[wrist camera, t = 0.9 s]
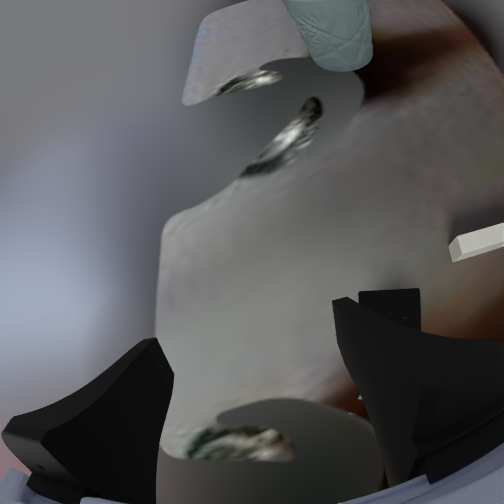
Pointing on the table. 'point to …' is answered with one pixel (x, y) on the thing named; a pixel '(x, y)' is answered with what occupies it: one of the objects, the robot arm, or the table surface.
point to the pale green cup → (334, 31)
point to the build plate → (394, 306)
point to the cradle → (477, 242)
